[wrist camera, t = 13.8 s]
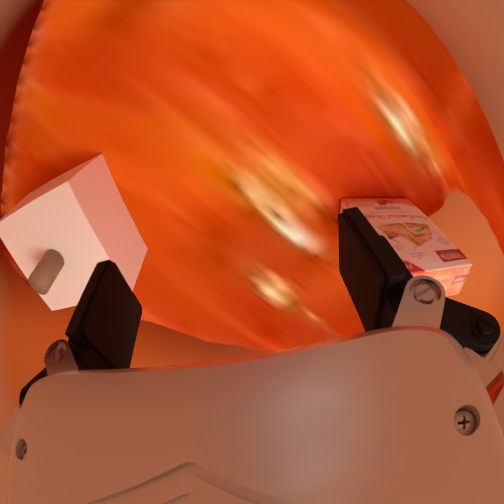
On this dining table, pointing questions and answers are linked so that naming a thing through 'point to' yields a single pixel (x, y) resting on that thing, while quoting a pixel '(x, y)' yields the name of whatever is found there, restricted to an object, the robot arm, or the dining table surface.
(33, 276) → the cover
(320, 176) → the dining table surface
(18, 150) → the dining table surface
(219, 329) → the dining table surface
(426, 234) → the cracker box
